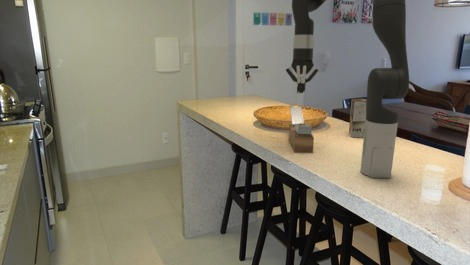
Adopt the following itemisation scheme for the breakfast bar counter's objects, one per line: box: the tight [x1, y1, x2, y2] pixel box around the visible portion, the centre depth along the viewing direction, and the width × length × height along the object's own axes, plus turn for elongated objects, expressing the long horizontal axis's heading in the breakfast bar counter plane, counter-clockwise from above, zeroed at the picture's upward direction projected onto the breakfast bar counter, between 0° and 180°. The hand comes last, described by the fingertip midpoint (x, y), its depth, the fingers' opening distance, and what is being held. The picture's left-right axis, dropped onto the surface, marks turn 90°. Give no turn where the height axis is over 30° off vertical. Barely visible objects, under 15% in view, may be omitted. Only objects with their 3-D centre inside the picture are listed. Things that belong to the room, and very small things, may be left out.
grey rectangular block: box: [295, 122, 313, 134], centre depth 134 cm, size 9×5×4 cm, turn 178°
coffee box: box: [348, 98, 367, 139], centre depth 154 cm, size 9×6×16 cm
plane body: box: [288, 124, 315, 154], centre depth 139 cm, size 18×7×7 cm, turn 178°
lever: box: [288, 105, 305, 125], centre depth 152 cm, size 1×5×12 cm
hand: (301, 92), depth 136 cm, fingers closed
